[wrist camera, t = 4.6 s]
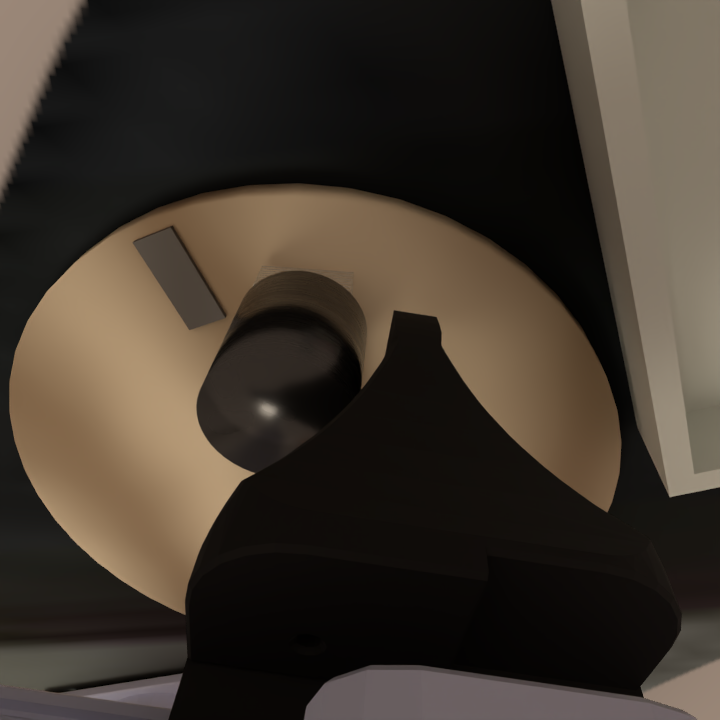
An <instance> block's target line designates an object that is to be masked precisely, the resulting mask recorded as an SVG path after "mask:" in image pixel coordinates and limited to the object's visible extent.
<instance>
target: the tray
mask: <svg viewBox="0 0 720 720" xmlns="http://www.w3.org/2000/svg"><path fill="white" fill-rule="evenodd" d="M551 3H552V8H553V13H554V18H555V23H556V28H557V33H558V38H559V42H560V47H561V52H562V57H563V62H564V67H565V72H566V77H567V82H568V87H569V92H570V97H571V102H572V107H573V112H574V117H575V122H576V127H577V132H578V136H579V141H580V146H581V151H582V156H583V161H584V166H585V171H586V176H587V181H588V186H589V191H590V196H591V201H592V206H593V211H594V216H595V221H596V226H597V230H598V235H599V240H600V245H601V250H602V255H603V260H604V265H605V270H606V275H607V280H608V285H609V290H610V295H611V300H612V305H613V310H614V315H615V320H616V325H617V329H618V334H619V339H620V344H621V349H622V354H623V359H624V364H625V369H626V374H627V379H628V384H629V389H630V394H631V399H632V404H633V409H634V414H635V419H636V423H637V428H638V430H639V432H640V434H641V436H642V439H643V441H644V443H645V445H646V447H647V449H648V452H649V454H650V456H651V458H652V460H653V462H654V465H655V467H656V469H657V471H658V473H659V475H660V477H661V480H662V482H663V484H664V486H665V488H666V490H667V493H668V495H669V497H673V496H678V495H683V494H688V493H693V492H698V491H703V490H708V489H713V488H718V487H720V0H551Z"/></svg>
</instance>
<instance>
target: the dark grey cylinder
mask: <svg viewBox="0 0 720 720" xmlns="http://www.w3.org/2000/svg"><path fill="white" fill-rule="evenodd" d="M353 276H354V272H345V271H332V270H318V269H304V268H290V267H276V266H262V267H261V269H260V271H259V273H258V275H257V278H256V280H255V282H254V284H253V286H252V288H251V289H250V290H249V291H248V292H247V293H246V295H245V296H244V298H243V300H242V302H241V304H240V306H239V308H238V310H237V312H236V314H235V316H234V319H233V321H232V323H231V325H230V327H229V329H228V331H227V333H226V335H225V338H224V340H223V342H222V344H221V346H220V348H219V350H218V352H217V355H216V357H215V359H214V361H213V363H212V365H211V367H210V369H209V372H208V374H207V376H206V378H205V380H204V382H203V384H202V386H201V388H200V391H199V394H198V397H197V404H196V411H197V418H198V422H199V425H200V427H201V430H202V432H203V434H204V435H205V437H206V439H207V440H208V441H209V443H210V444H211V445H212V446H213V447H214V448H215V449H216V450H217V452H219V453H220V454H221V455H222V456H223V457H225V458H226V459H228V460H229V461H230V462H232V463H234V464H235V465H237V466H239V467H241V468H243V469H246V470H248V471H250V472H253V473H257V472H259V471H260V470H262V469H264V468H266V467H268V466H269V465H271V464H273V463H275V462H277V461H278V460H280V459H281V458H283V457H285V456H286V455H288V454H289V453H290V452H292V451H293V450H295V449H296V448H297V447H299V446H300V445H302V444H303V443H304V442H306V441H307V440H309V439H310V438H311V437H313V436H314V435H315V434H317V433H318V432H319V431H320V430H321V429H323V428H324V427H325V426H326V425H327V424H328V423H329V422H330V421H332V420H333V419H334V418H335V417H336V416H337V415H338V414H339V413H340V412H341V411H342V410H343V409H344V408H345V407H346V406H347V405H348V404H349V403H350V402H351V401H352V400H353V399H354V397H355V396H356V395H357V394H358V393H359V392H360V390H361V385H362V376H363V367H364V358H365V350H366V341H367V324H366V319H365V316H364V313H363V311H362V309H361V307H360V305H359V303H358V302H357V300H356V299H355V298H354V297H353Z"/></svg>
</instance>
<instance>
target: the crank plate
mask: <svg viewBox="0 0 720 720" xmlns="http://www.w3.org/2000/svg"><path fill="white" fill-rule="evenodd" d="M262 266H276V267H290V268H304V269H318V270H332V271H345V272H354V276H353V297H354V298H355V299H356V300H357V302H358V303H359V305H360V307H361V309H362V311H363V313H364V316H365V319H366V324H367V341H366V350H365V358H364V367H363V376H362V385H361V389H362V388H363V387H364V386H365V384H366V383H367V381H368V380H369V379H370V377H371V376H372V375H373V373H374V372H375V370H376V369H377V368H378V366H379V365H380V363H381V362H382V360H383V358H384V356H385V352H386V347H387V342H388V337H389V332H390V327H391V322H392V317H393V312H394V310H396V311H402V312H409V313H415V314H421V315H428V316H434V317H437V319H438V322H439V324H440V328H441V332H442V342H441V345H442V347H443V349H444V351H445V352H446V354H447V356H448V357H449V359H450V361H451V362H452V364H453V365H454V367H455V368H456V370H457V371H458V373H459V374H460V376H461V378H462V379H463V381H464V382H465V383H466V385H467V386H468V388H469V389H470V390H471V392H472V393H473V394H474V396H475V397H476V398H477V400H478V401H479V402H480V403H481V405H482V406H483V407H484V408H485V409H486V411H487V412H488V413H489V414H490V415H491V416H492V417H493V418H494V419H495V420H496V422H497V423H498V424H499V425H500V426H501V427H502V428H503V429H504V430H505V431H506V432H507V433H508V434H509V435H510V436H511V437H512V438H513V439H514V440H515V441H516V442H517V443H518V444H519V445H520V446H521V447H522V448H523V449H525V450H526V451H527V452H528V453H529V454H530V455H531V456H532V457H534V458H535V459H536V460H537V461H538V462H539V463H540V464H542V465H543V466H544V467H545V468H546V469H548V470H549V471H550V472H551V473H553V474H554V475H555V476H556V477H558V478H559V479H560V480H561V481H563V482H564V483H565V484H567V485H568V486H570V487H571V488H572V489H574V490H575V491H576V492H578V493H579V494H581V495H582V496H583V497H585V498H586V499H588V500H589V501H590V502H592V503H593V504H595V505H596V506H598V507H599V508H601V509H603V510H604V511H606V512H608V510H609V507H610V505H611V503H612V500H613V496H614V492H615V489H616V485H617V481H618V477H619V473H620V457H621V435H620V427H619V419H618V411H617V407H616V404H615V401H614V398H613V395H612V392H611V389H610V386H609V383H608V379H607V377H606V374H605V372H604V370H603V368H602V365H601V363H600V361H599V359H598V357H597V355H596V353H595V351H594V349H593V347H592V345H591V343H590V342H589V340H588V338H587V336H586V334H585V332H584V330H583V328H582V327H581V325H580V324H579V322H578V321H577V320H576V318H575V317H574V316H573V315H572V313H571V312H570V311H569V309H568V308H567V307H566V305H565V304H564V303H563V301H562V300H561V299H560V298H559V296H558V295H557V294H556V293H555V292H554V291H553V290H552V289H551V288H550V287H549V286H548V285H547V284H546V283H545V282H544V281H543V280H542V279H540V278H539V277H538V276H537V275H536V274H535V273H534V272H533V271H532V270H531V269H530V268H529V267H528V266H527V265H526V264H524V263H523V262H521V261H520V260H519V259H517V258H516V257H514V256H513V255H512V254H510V253H509V252H507V251H506V250H505V249H503V248H502V247H500V246H499V245H498V244H496V243H495V242H493V241H492V240H491V239H489V238H487V237H485V236H483V235H482V234H480V233H478V232H476V231H474V230H472V229H470V228H468V227H466V226H464V225H462V224H460V223H459V222H457V221H455V220H453V219H451V218H449V217H447V216H445V215H442V214H439V213H436V212H434V211H431V210H428V209H425V208H423V207H420V206H417V205H414V204H412V203H409V202H406V201H403V200H401V199H397V198H392V197H388V196H384V195H379V194H375V193H370V192H366V191H361V190H357V189H352V188H345V187H334V186H324V185H313V184H302V183H291V184H265V185H247V186H241V187H235V188H229V189H224V190H218V191H212V192H207V193H201V194H198V195H195V196H192V197H189V198H186V199H183V200H180V201H177V202H174V203H170V204H167V205H164V206H161V207H158V208H156V209H154V210H152V211H150V212H148V213H146V214H144V215H142V216H140V217H138V218H136V219H134V220H132V221H130V222H128V223H126V224H124V225H122V226H120V227H119V228H118V229H116V230H115V231H114V232H112V233H111V234H109V235H108V236H107V237H105V238H104V239H103V240H101V241H100V242H98V243H97V244H96V245H94V246H93V247H92V248H90V249H89V250H88V251H87V252H86V253H85V254H83V255H82V256H81V257H80V258H79V259H78V260H77V261H76V262H75V263H74V264H73V265H72V266H71V267H70V268H69V269H68V270H67V271H66V272H65V273H64V274H63V275H62V276H61V277H60V278H59V280H58V281H57V282H56V283H55V284H54V285H53V286H52V287H51V288H50V289H49V290H48V291H47V292H46V294H45V295H44V297H43V298H42V300H41V301H40V303H39V304H38V306H37V307H36V309H35V310H34V312H33V314H32V315H31V317H30V318H29V320H28V321H27V324H26V326H25V329H24V331H23V334H22V336H21V339H20V341H19V344H18V346H17V349H16V351H15V356H14V362H13V367H12V372H11V377H10V417H11V423H12V428H13V434H14V440H15V443H16V446H17V449H18V452H19V455H20V458H21V460H22V463H23V466H24V469H25V471H26V473H27V475H28V477H29V479H30V481H31V482H32V484H33V486H34V488H35V490H36V492H37V494H38V496H39V497H40V499H41V500H42V501H43V503H44V504H45V506H46V507H47V509H48V510H49V511H50V513H51V514H52V516H53V517H54V519H55V520H56V521H57V522H58V523H59V524H60V526H61V527H62V528H63V529H64V530H65V531H66V532H67V533H68V535H69V536H70V537H71V538H72V539H73V540H74V541H75V542H76V543H77V544H78V545H79V546H80V547H81V548H82V549H83V550H84V551H86V552H87V553H88V554H89V555H90V556H91V557H92V558H93V559H94V560H95V561H96V562H98V563H99V564H100V565H102V566H103V567H104V568H106V569H107V570H108V571H110V572H111V573H112V574H114V575H115V576H116V577H118V578H119V579H120V580H122V581H123V582H125V583H127V584H128V585H130V586H131V587H133V588H135V589H136V590H138V591H139V592H141V593H143V594H144V595H146V596H148V597H149V598H151V599H153V600H155V601H157V602H159V603H161V604H163V605H165V606H167V607H169V608H171V609H173V610H175V611H177V612H180V613H182V614H185V615H186V613H185V597H186V592H187V586H188V582H189V579H190V576H191V573H192V571H193V568H194V565H195V562H196V559H197V556H198V553H199V551H200V549H201V546H202V544H203V542H204V540H205V538H206V536H207V534H208V532H209V530H210V528H211V527H212V525H213V523H214V521H215V519H216V518H217V516H218V515H219V513H220V511H221V510H222V508H223V507H224V505H225V503H226V502H227V501H228V499H229V498H230V496H231V495H232V493H233V492H234V490H235V489H236V488H237V486H238V485H239V483H240V482H241V481H242V480H244V479H246V478H248V477H250V476H251V475H253V474H255V473H253V472H250V471H248V470H246V469H243V468H241V467H239V466H237V465H235V464H234V463H232V462H230V461H229V460H228V459H226V458H225V457H223V456H222V455H221V454H220V453H219V452H217V450H216V449H215V448H214V447H213V446H212V445H211V444H210V443H209V441H208V440H207V439H206V437H205V435H204V434H203V432H202V430H201V427H200V425H199V422H198V418H197V411H196V404H197V397H198V394H199V391H200V388H201V386H202V384H203V382H204V380H205V378H206V376H207V374H208V372H209V369H210V367H211V365H212V363H213V361H214V359H215V357H216V355H217V352H218V350H219V348H220V346H221V344H222V342H223V340H224V338H225V335H226V333H227V331H228V329H229V327H230V325H231V323H232V321H233V319H234V316H235V314H236V312H237V310H238V308H239V306H240V304H241V302H242V300H243V298H244V296H245V295H246V293H247V292H248V291H249V290H250V289H251V288H252V286H253V284H254V282H255V280H256V278H257V275H258V273H259V271H260V269H261V267H262Z"/></svg>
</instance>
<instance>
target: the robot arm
mask: <svg viewBox="0 0 720 720" xmlns="http://www.w3.org/2000/svg"><path fill="white" fill-rule="evenodd" d="M441 342H442V332H441V328H440V324H439V322H438V319H437V317H434V316H428V315H421V314H415V313H409V312H402V311H396V310H394V312H393V317H392V322H391V327H390V332H389V337H388V342H387V347H386V352H385V356H384V358H383V360H382V362H381V363H380V365H379V366H378V368H377V369H376V370H375V372H374V373H373V375H372V376H371V377H370V379H369V380H368V381H367V383H366V384H365V386H364V387H363V388H362V389H361V390H360V392H359V393H358V394H357V395H356V396H355V397H354V399H353V400H352V401H351V402H350V403H349V404H348V405H347V406H346V407H345V408H344V409H343V410H342V411H341V412H340V413H339V414H338V415H337V416H336V417H335V418H334V419H333V420H332V421H330V422H329V423H328V424H327V425H326V426H325V427H324V428H323V429H321V430H320V431H319V432H318V433H317V434H315V435H314V436H313V437H311V438H310V439H309V440H307V441H306V442H304V443H303V444H302V445H300V446H299V447H297V448H296V449H295V450H293V451H292V452H290V453H289V454H288V455H286V456H285V457H283V458H281V459H280V460H278V461H277V462H275V463H273V464H271V465H269V466H268V467H266V468H264V469H262V470H260V471H259V472H257V473H255V474H253V475H251V476H250V477H248V478H246V479H244V480H242V481H241V482H240V483H239V485H238V486H237V488H236V489H235V490H234V492H233V493H232V495H231V496H230V498H229V499H228V501H227V502H226V503H225V505H224V507H223V508H222V510H221V511H220V513H219V515H218V516H217V518H216V519H215V521H214V523H213V525H212V527H211V528H210V530H209V532H208V534H207V536H206V538H205V540H204V542H203V544H202V546H201V549H200V551H199V553H198V556H197V559H196V562H195V565H194V568H193V571H192V573H191V576H190V579H189V582H188V586H187V592H186V597H185V613H186V634H187V654H188V658H187V661H186V665H185V668H184V671H183V673H182V674H175V675H169V676H163V677H156V678H150V679H144V680H138V681H131V682H125V683H119V684H112V685H106V686H100V687H94V688H87V689H81V690H75V691H69V692H62V693H55V692H48V691H41V690H34V689H27V688H20V687H13V686H6V685H0V720H697V719H696V718H695V717H694V716H692V715H690V714H688V713H687V712H685V711H683V710H680V709H677V708H674V707H671V706H668V705H665V704H661V703H658V702H655V701H651V700H648V699H645V698H644V697H643V694H642V690H641V687H640V686H641V685H642V683H643V682H644V681H645V680H646V678H647V677H648V676H649V675H650V674H651V672H652V671H653V670H654V669H655V667H656V666H657V665H658V664H659V662H660V661H661V660H662V659H663V657H664V656H665V655H666V654H667V652H668V651H669V650H670V648H671V647H672V646H673V644H674V642H675V640H676V638H677V636H678V635H679V633H680V631H681V618H682V613H681V610H680V608H679V605H678V603H677V600H676V598H675V595H674V593H673V590H672V587H671V585H670V582H669V579H668V577H667V574H666V572H665V569H664V567H663V565H662V563H661V561H660V559H659V557H658V555H657V553H656V551H655V549H654V547H653V545H652V543H651V541H650V539H649V538H648V537H646V536H645V535H643V534H641V533H640V532H638V531H637V530H635V529H633V528H632V527H630V526H628V525H627V524H625V523H624V522H622V521H620V520H619V519H617V518H615V517H614V516H612V515H611V514H609V513H607V512H606V511H604V510H603V509H601V508H599V507H598V506H596V505H595V504H593V503H592V502H590V501H589V500H588V499H586V498H585V497H583V496H582V495H581V494H579V493H578V492H576V491H575V490H574V489H572V488H571V487H570V486H568V485H567V484H565V483H564V482H563V481H561V480H560V479H559V478H558V477H556V476H555V475H554V474H553V473H551V472H550V471H549V470H548V469H546V468H545V467H544V466H543V465H542V464H540V463H539V462H538V461H537V460H536V459H535V458H534V457H532V456H531V455H530V454H529V453H528V452H527V451H526V450H525V449H523V448H522V447H521V446H520V445H519V444H518V443H517V442H516V441H515V440H514V439H513V438H512V437H511V436H510V435H509V434H508V433H507V432H506V431H505V430H504V429H503V428H502V427H501V426H500V425H499V424H498V423H497V422H496V420H495V419H494V418H493V417H492V416H491V415H490V414H489V413H488V412H487V411H486V409H485V408H484V407H483V406H482V405H481V403H480V402H479V401H478V400H477V398H476V397H475V396H474V394H473V393H472V392H471V390H470V389H469V388H468V386H467V385H466V383H465V382H464V381H463V379H462V378H461V376H460V374H459V373H458V371H457V370H456V368H455V367H454V365H453V364H452V362H451V361H450V359H449V357H448V356H447V354H446V352H445V351H444V349H443V347H442V345H441Z"/></svg>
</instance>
